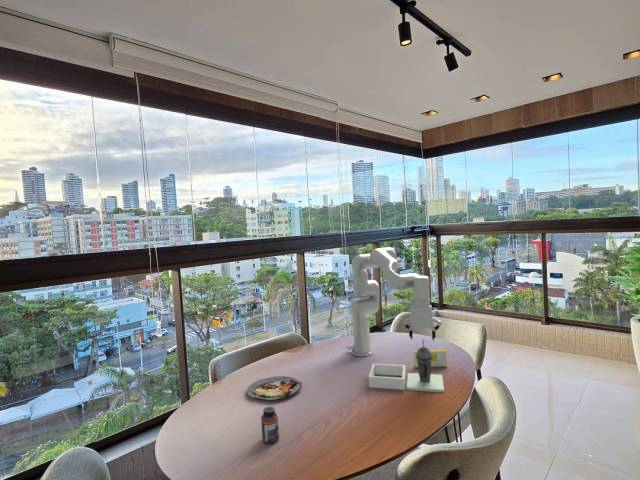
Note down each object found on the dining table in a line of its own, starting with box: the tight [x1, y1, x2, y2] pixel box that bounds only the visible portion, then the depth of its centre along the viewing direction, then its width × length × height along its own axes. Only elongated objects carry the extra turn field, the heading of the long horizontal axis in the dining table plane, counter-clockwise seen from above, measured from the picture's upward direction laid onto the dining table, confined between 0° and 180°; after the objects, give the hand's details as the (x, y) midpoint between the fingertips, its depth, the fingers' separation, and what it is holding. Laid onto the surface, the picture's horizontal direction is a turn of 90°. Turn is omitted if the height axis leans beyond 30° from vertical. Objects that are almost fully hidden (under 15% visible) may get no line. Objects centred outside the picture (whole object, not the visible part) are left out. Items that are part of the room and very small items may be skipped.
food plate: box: [246, 375, 302, 401], centre depth 170 cm, size 25×23×4 cm
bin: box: [368, 363, 407, 391], centre depth 173 cm, size 16×16×5 cm
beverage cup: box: [416, 338, 432, 383], centre depth 168 cm, size 7×7×20 cm
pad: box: [406, 372, 445, 393], centre depth 169 cm, size 16×16×1 cm
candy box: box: [413, 349, 448, 368], centre depth 188 cm, size 16×2×8 cm, turn 84°
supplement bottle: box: [260, 406, 280, 445], centre depth 130 cm, size 6×6×11 cm
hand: (422, 338), depth 168 cm, fingers open, 9 cm apart
